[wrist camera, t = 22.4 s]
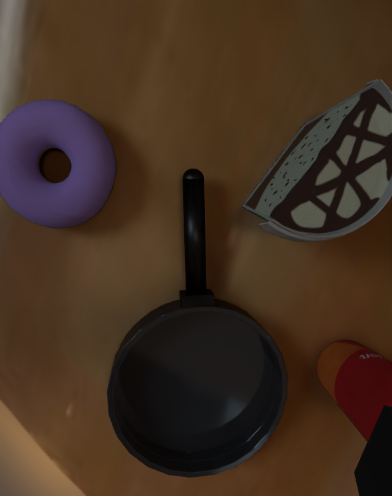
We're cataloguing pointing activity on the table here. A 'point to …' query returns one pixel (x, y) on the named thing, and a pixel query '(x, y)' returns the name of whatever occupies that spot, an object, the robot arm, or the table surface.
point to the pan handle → (195, 243)
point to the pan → (196, 388)
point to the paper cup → (356, 382)
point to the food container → (331, 171)
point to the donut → (76, 148)
